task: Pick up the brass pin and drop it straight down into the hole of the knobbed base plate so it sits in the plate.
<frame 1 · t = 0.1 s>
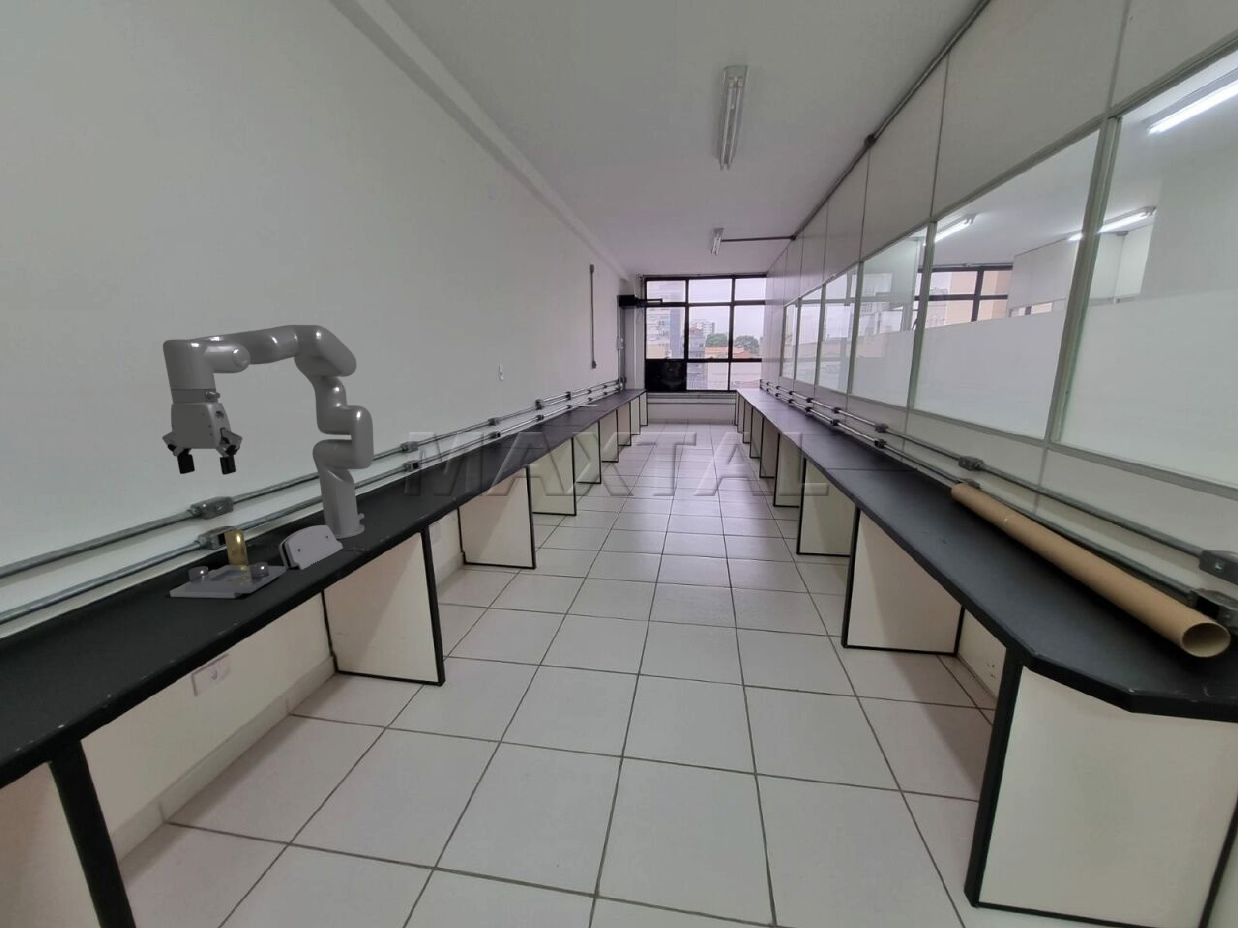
hand: (208, 472, 108), 31 cm above the table, tool pointing down, fingers open, 9 cm apart
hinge: (312, 558, 139), on the table
knobbed base plate: (231, 586, 121), on the table
pin: (239, 565, 133), on the table
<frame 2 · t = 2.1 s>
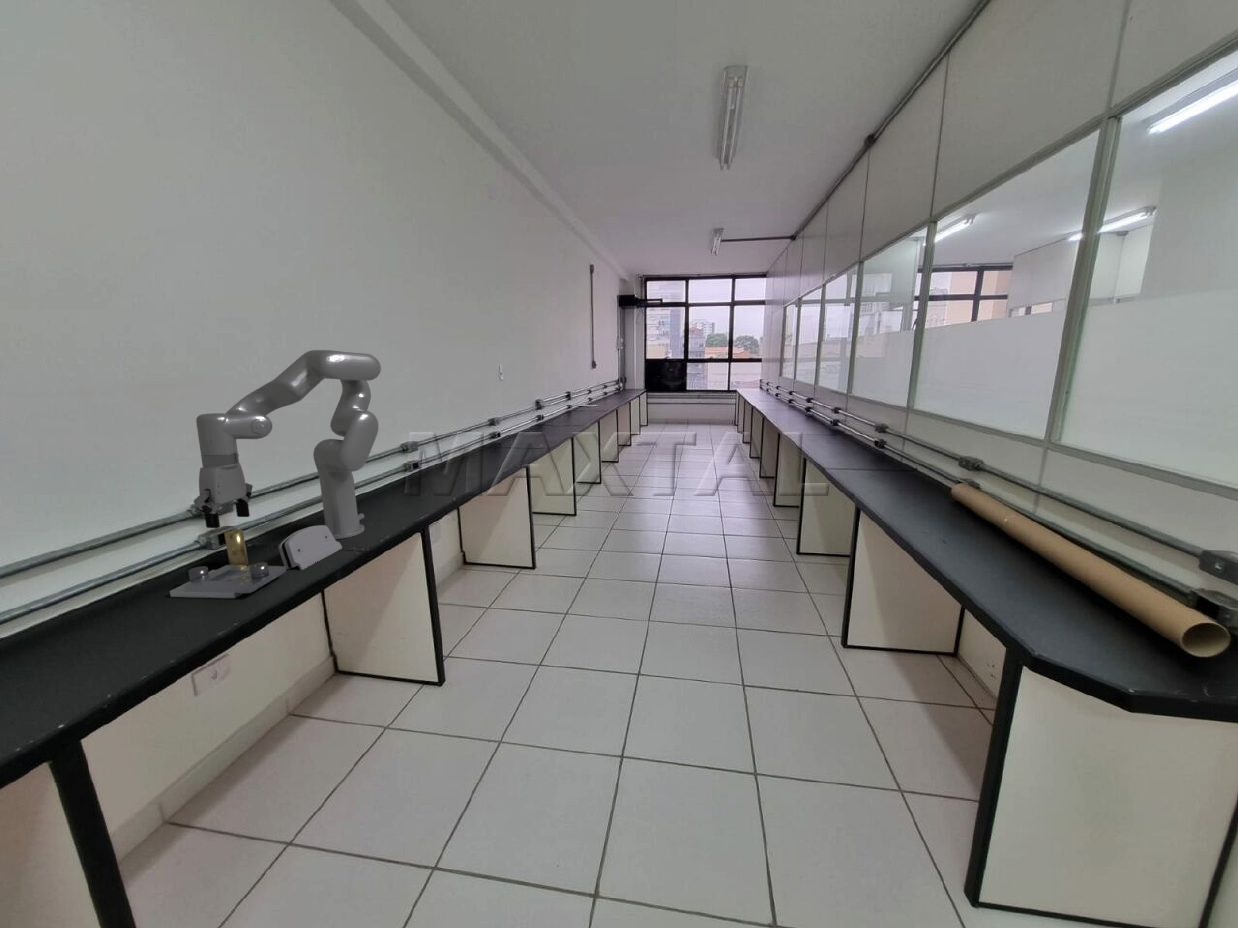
hand: (228, 521, 129), 13 cm above the table, tool pointing down, fingers open, 9 cm apart
nothing on the table moved.
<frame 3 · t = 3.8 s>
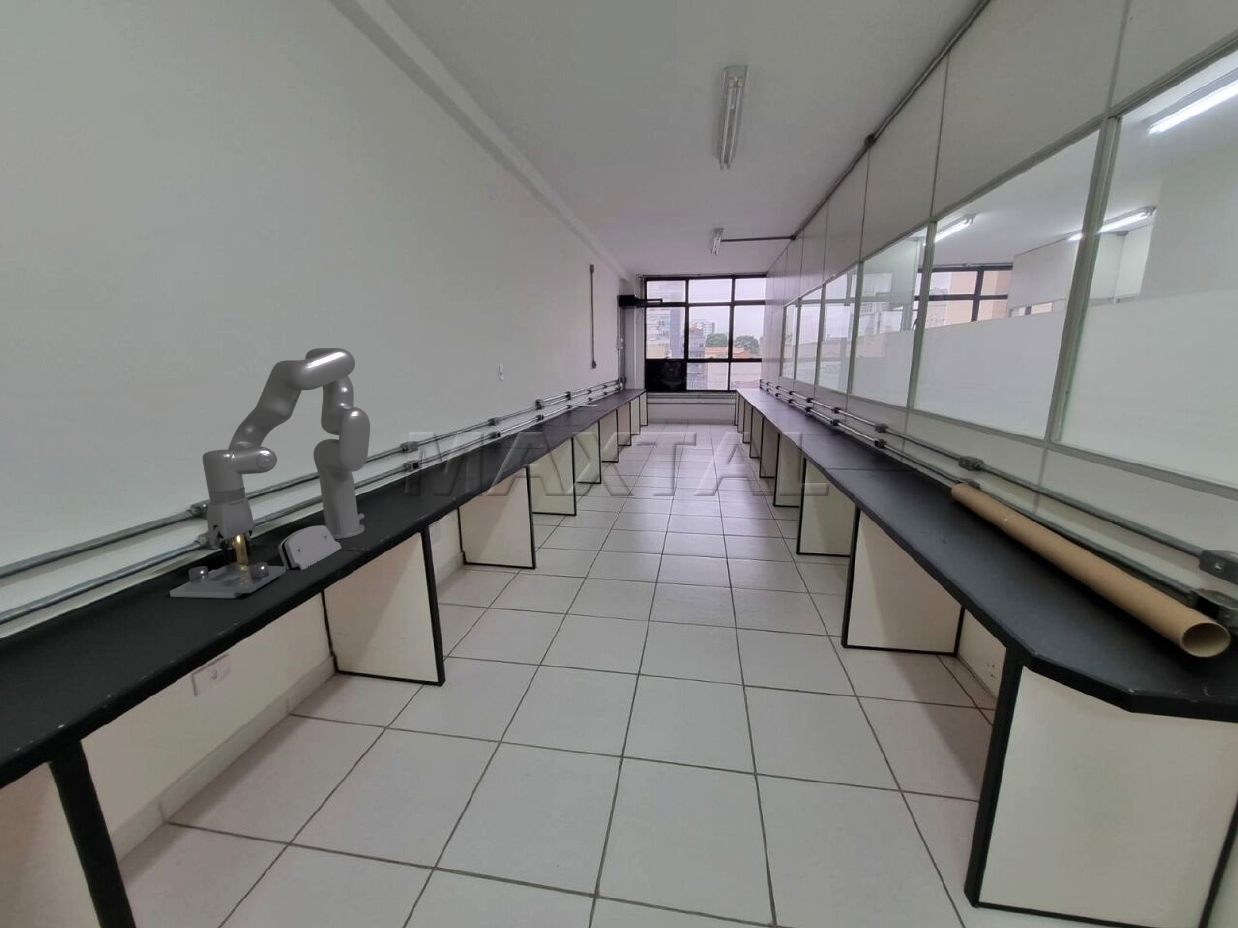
hand: (238, 558, 132), 2 cm above the table, tool pointing down, fingers closed on pin, 4 cm apart
pin: (239, 565, 133), on the table, touching gripper
everything else where it was.
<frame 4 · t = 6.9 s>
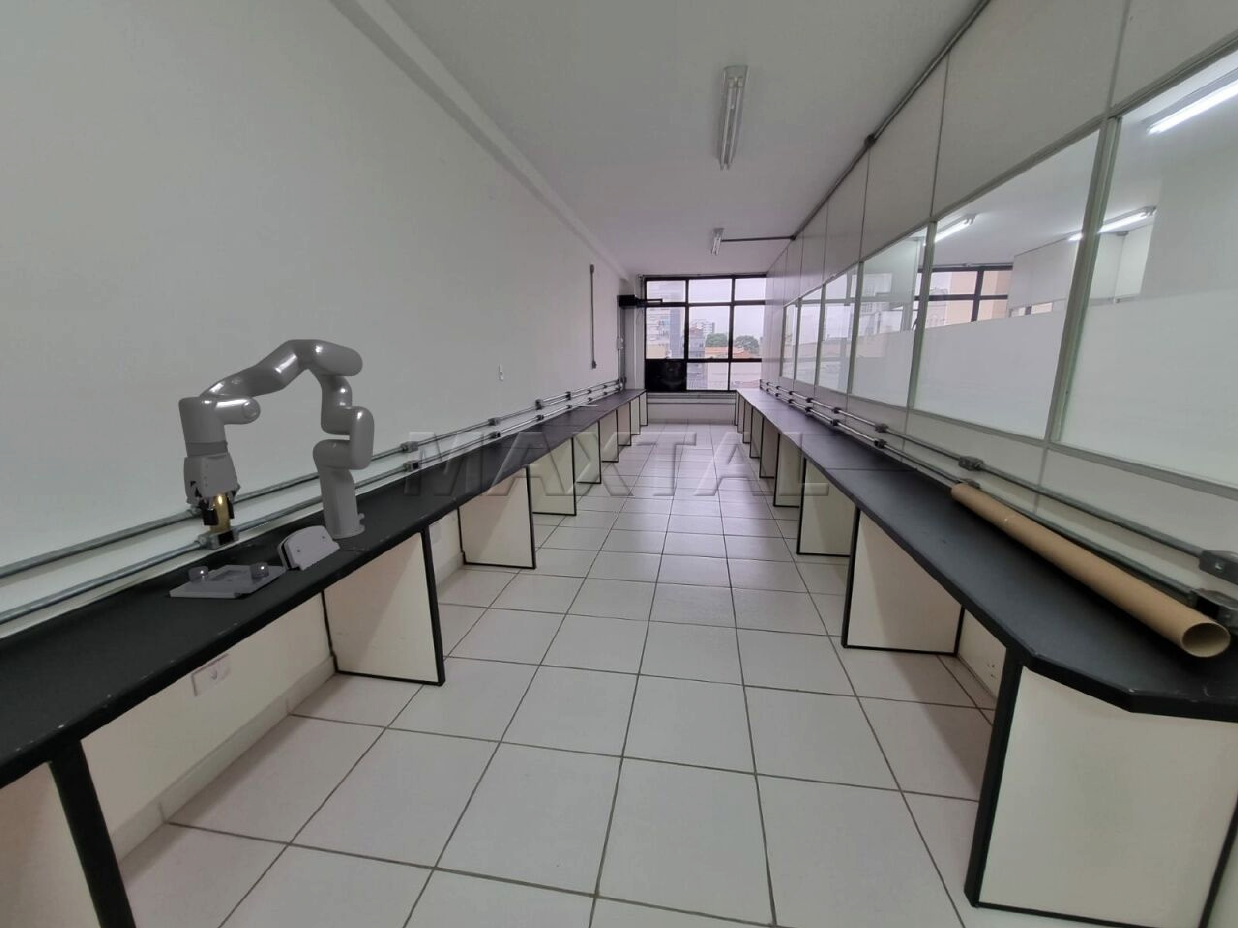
hand: (219, 521, 117), 17 cm above the table, tool pointing down, fingers closed on pin, 4 cm apart
pin: (221, 530, 118), point 15 cm above the table, touching gripper
everything else where it was.
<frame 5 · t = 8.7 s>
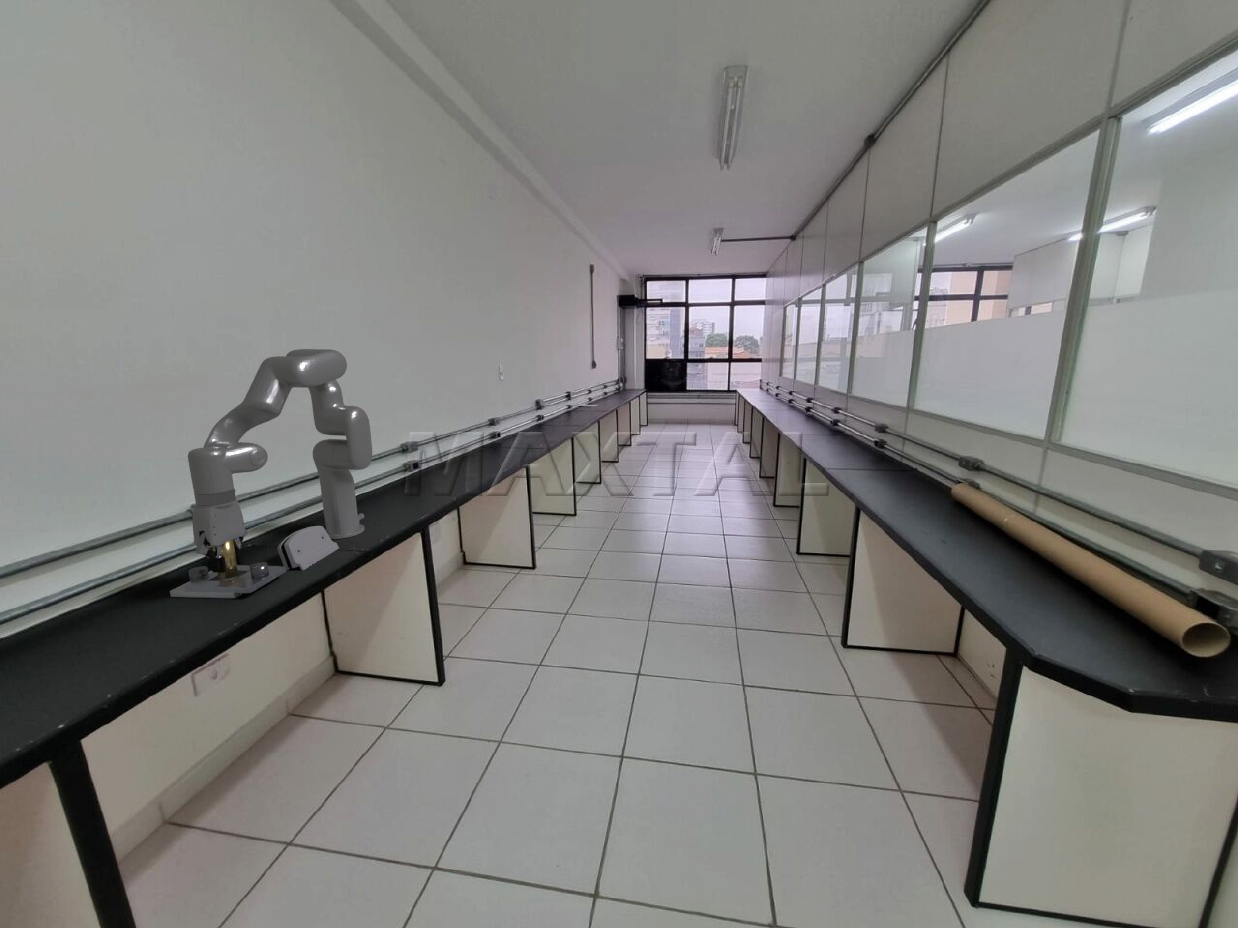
hand: (227, 567, 119), 5 cm above the table, tool pointing down, fingers closed on pin, 4 cm apart
pin: (228, 575, 120), point 3 cm above the table, touching gripper
everything else where it was.
when the fingers open (4 cm above the table, at t = 9.9 s): pin drops 2 cm, resting in knobbed base plate.
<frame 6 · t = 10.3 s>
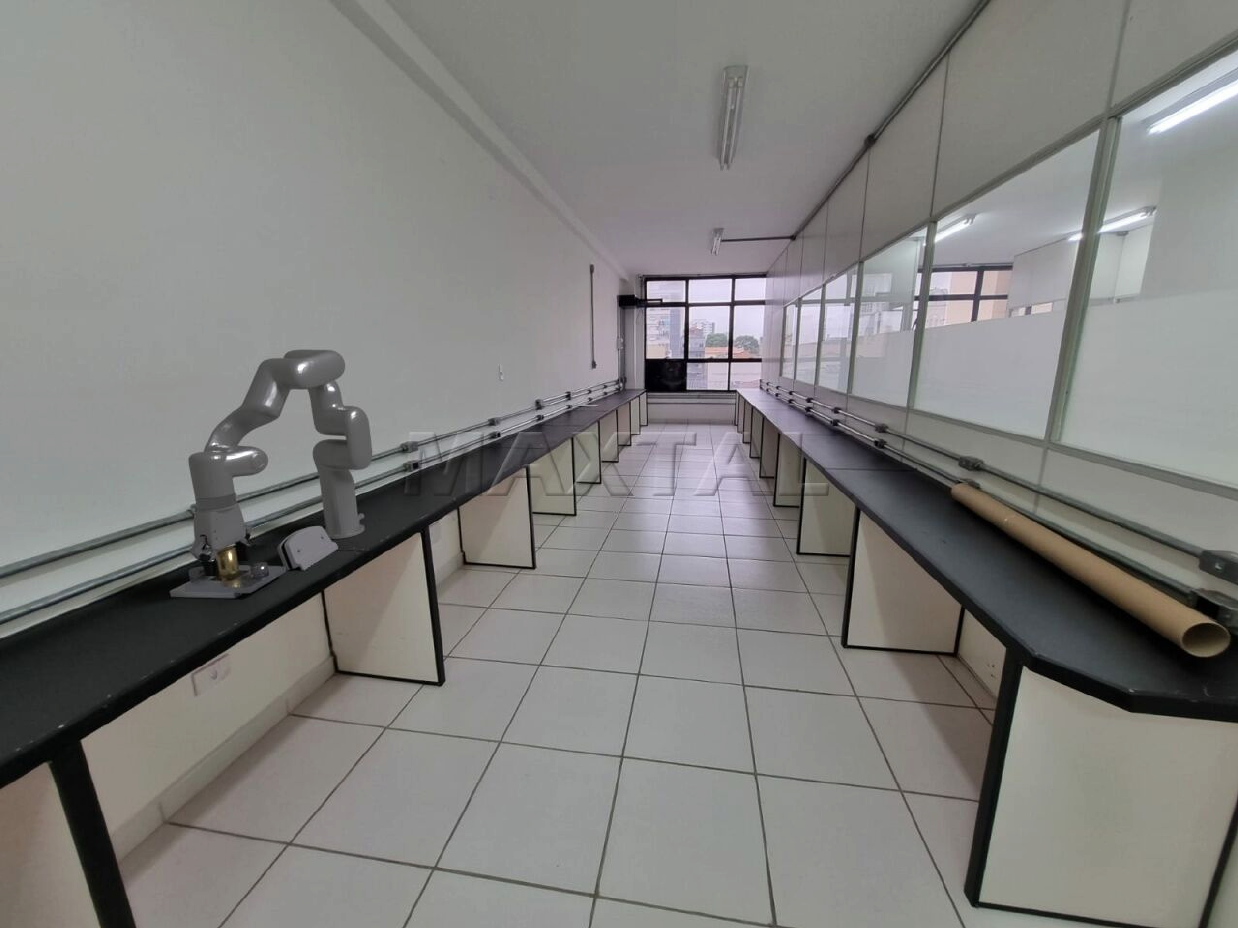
hand: (228, 567, 120), 5 cm above the table, tool pointing down, fingers open, 8 cm apart
pin: (231, 586, 121), resting in knobbed base plate
everything else where it was.
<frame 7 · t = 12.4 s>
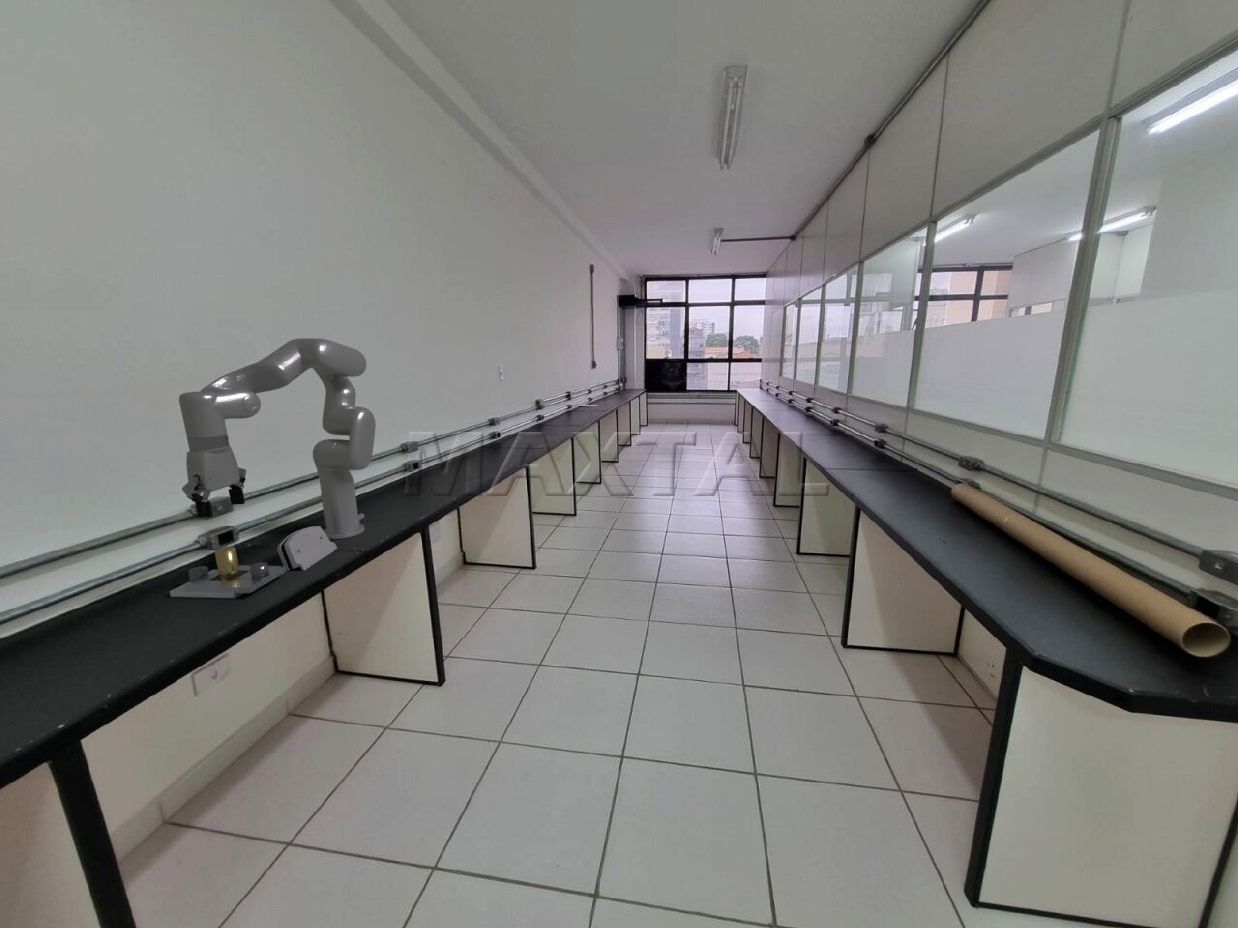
hand: (222, 510, 119), 19 cm above the table, tool pointing down, fingers open, 9 cm apart
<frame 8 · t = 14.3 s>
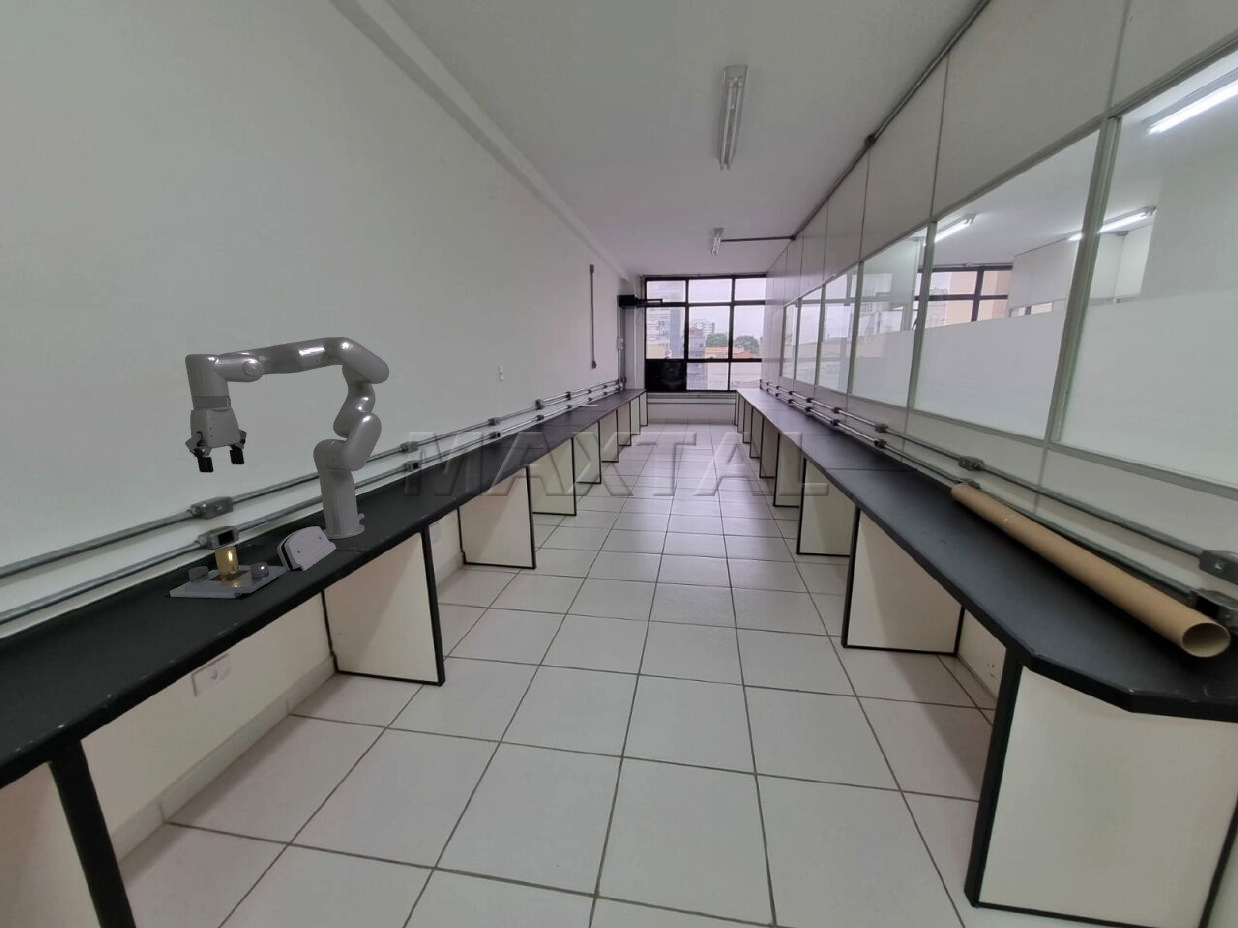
hand: (223, 468, 126), 28 cm above the table, tool pointing down, fingers open, 9 cm apart
at the end: pin 0.1 cm from the knobbed base plate (horizontally); pin resting in knobbed base plate; pin tilted 0° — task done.
